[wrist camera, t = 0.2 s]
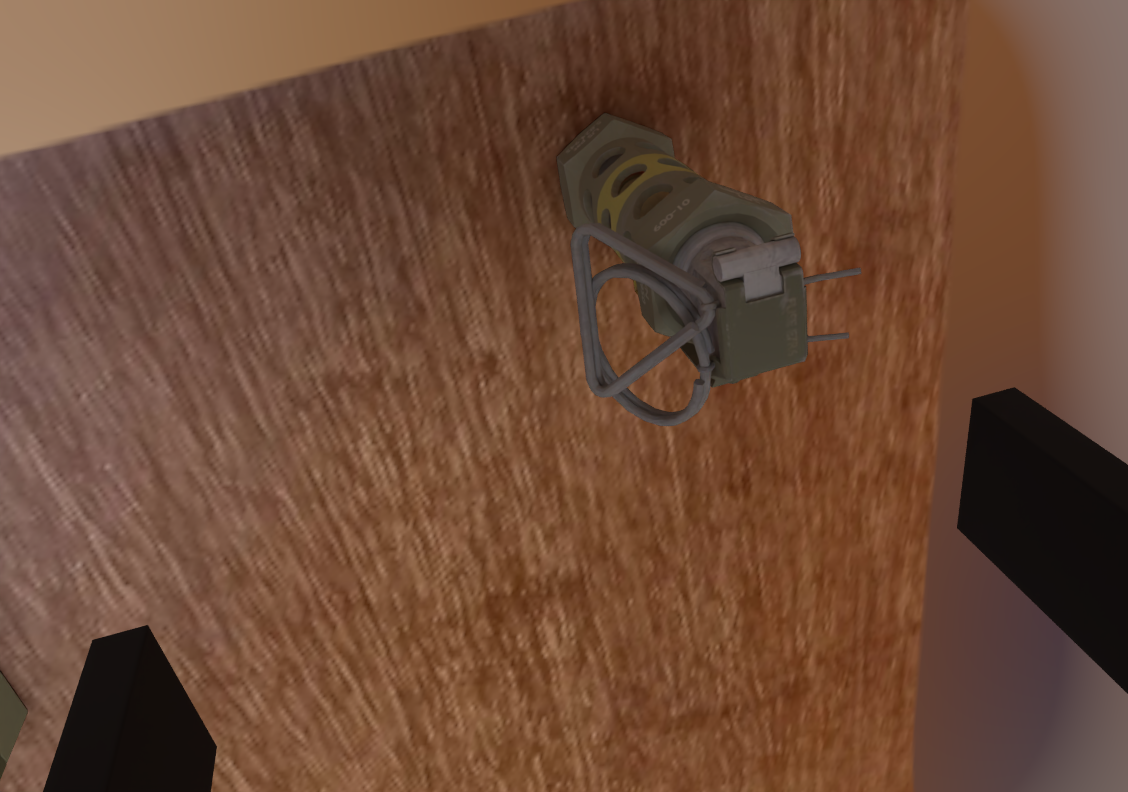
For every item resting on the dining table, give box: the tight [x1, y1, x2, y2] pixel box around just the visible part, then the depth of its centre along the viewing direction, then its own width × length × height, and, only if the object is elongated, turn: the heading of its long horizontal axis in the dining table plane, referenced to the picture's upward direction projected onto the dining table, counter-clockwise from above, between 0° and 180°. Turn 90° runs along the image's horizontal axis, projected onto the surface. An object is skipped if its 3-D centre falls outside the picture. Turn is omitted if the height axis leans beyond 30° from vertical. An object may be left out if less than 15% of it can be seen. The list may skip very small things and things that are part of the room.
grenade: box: [557, 113, 861, 426], centre depth 29 cm, size 7×7×15 cm
